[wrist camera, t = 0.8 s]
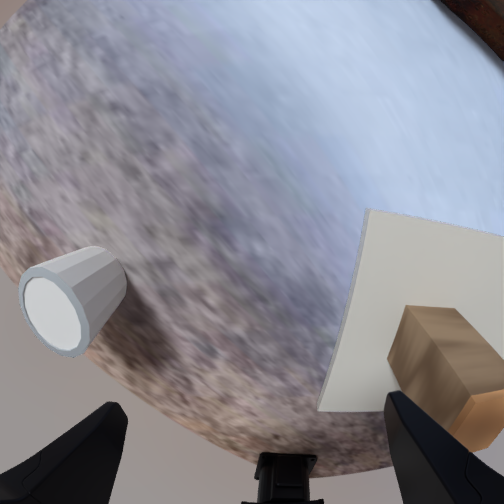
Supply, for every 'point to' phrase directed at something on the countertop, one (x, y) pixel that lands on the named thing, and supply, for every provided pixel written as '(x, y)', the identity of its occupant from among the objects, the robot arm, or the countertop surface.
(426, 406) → the walnut block
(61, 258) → the white tapered cup
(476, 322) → the cutting board
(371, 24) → the countertop surface
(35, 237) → the countertop surface
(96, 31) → the countertop surface
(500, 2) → the brick
